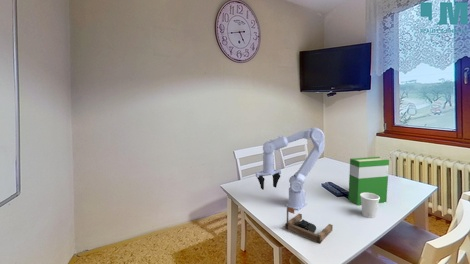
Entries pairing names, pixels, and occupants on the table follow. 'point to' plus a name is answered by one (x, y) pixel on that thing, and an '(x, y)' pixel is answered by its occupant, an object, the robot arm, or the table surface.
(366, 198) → the dixie cup
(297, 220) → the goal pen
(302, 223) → the gaming controller
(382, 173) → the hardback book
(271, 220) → the table surface
